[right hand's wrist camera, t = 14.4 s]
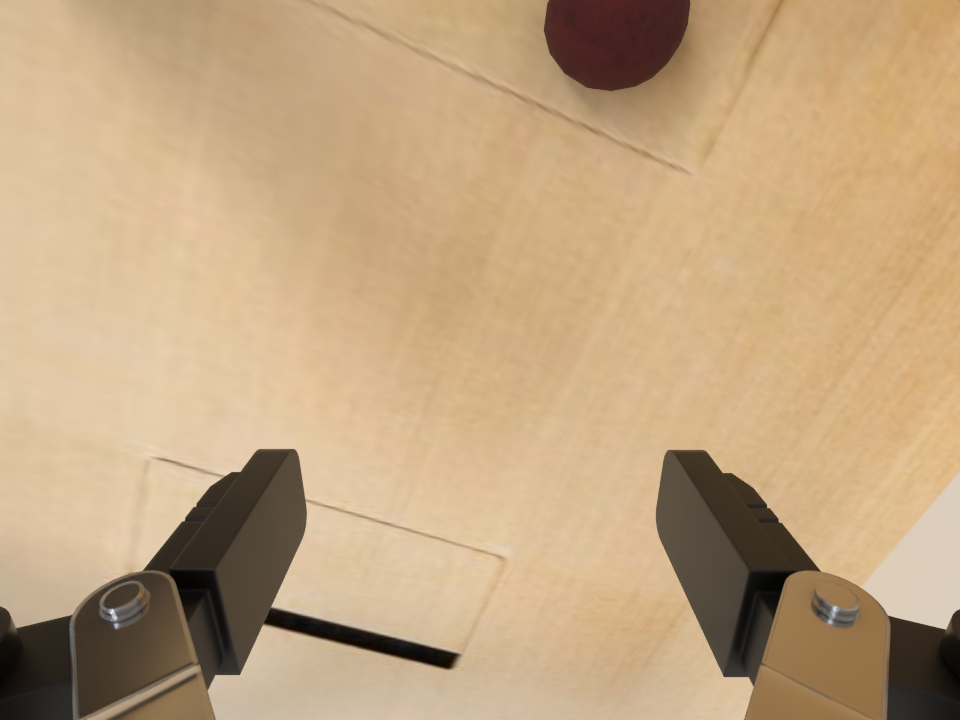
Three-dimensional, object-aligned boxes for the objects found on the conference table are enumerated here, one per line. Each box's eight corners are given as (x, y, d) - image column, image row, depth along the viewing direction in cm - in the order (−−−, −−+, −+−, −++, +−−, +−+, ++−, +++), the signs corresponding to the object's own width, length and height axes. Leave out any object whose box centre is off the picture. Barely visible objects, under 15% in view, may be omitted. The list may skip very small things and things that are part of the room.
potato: (663, 88, 34) (707, 73, 27) (542, 104, 34) (557, 93, 27) (664, -51, 31) (713, -105, 24) (533, -32, 31) (547, -81, 25)
